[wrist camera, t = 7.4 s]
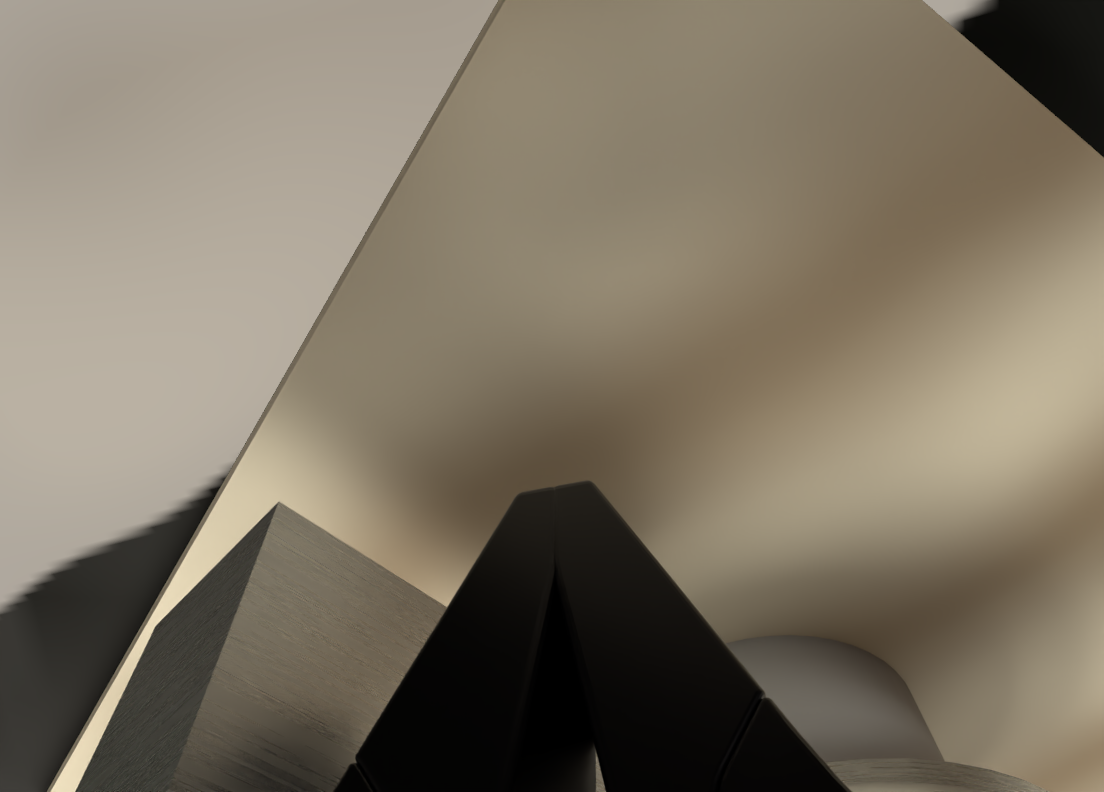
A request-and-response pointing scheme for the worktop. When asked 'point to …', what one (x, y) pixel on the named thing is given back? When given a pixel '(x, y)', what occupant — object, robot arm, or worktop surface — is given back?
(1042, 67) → the worktop surface
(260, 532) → the grey piece
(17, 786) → the worktop surface
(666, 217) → the base plate
